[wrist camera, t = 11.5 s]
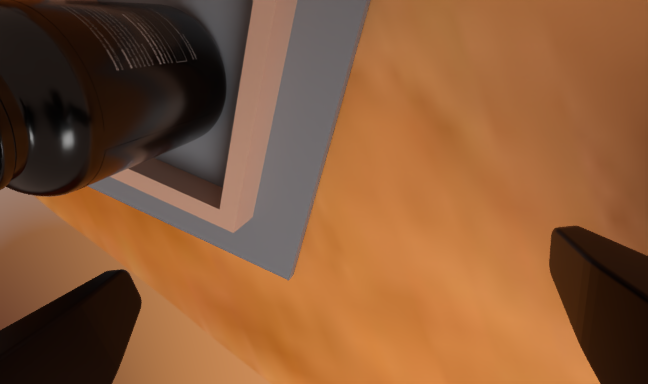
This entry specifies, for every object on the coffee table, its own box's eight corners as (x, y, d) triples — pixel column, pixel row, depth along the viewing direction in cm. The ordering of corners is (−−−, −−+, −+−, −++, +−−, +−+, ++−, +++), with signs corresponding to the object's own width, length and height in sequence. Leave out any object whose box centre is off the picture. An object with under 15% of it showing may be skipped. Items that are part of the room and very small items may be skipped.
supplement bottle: (104, 22, 22) (-250, 21, 11) (209, -12, 19) (-128, -55, 9) (148, 148, 24) (-117, 245, 13) (247, 133, 21) (14, 240, 11)
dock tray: (392, -78, 16) (376, -94, 14) (293, 274, 24) (273, 300, 22) (41, -166, 20) (-16, -190, 18) (57, 165, 28) (20, 178, 26)
